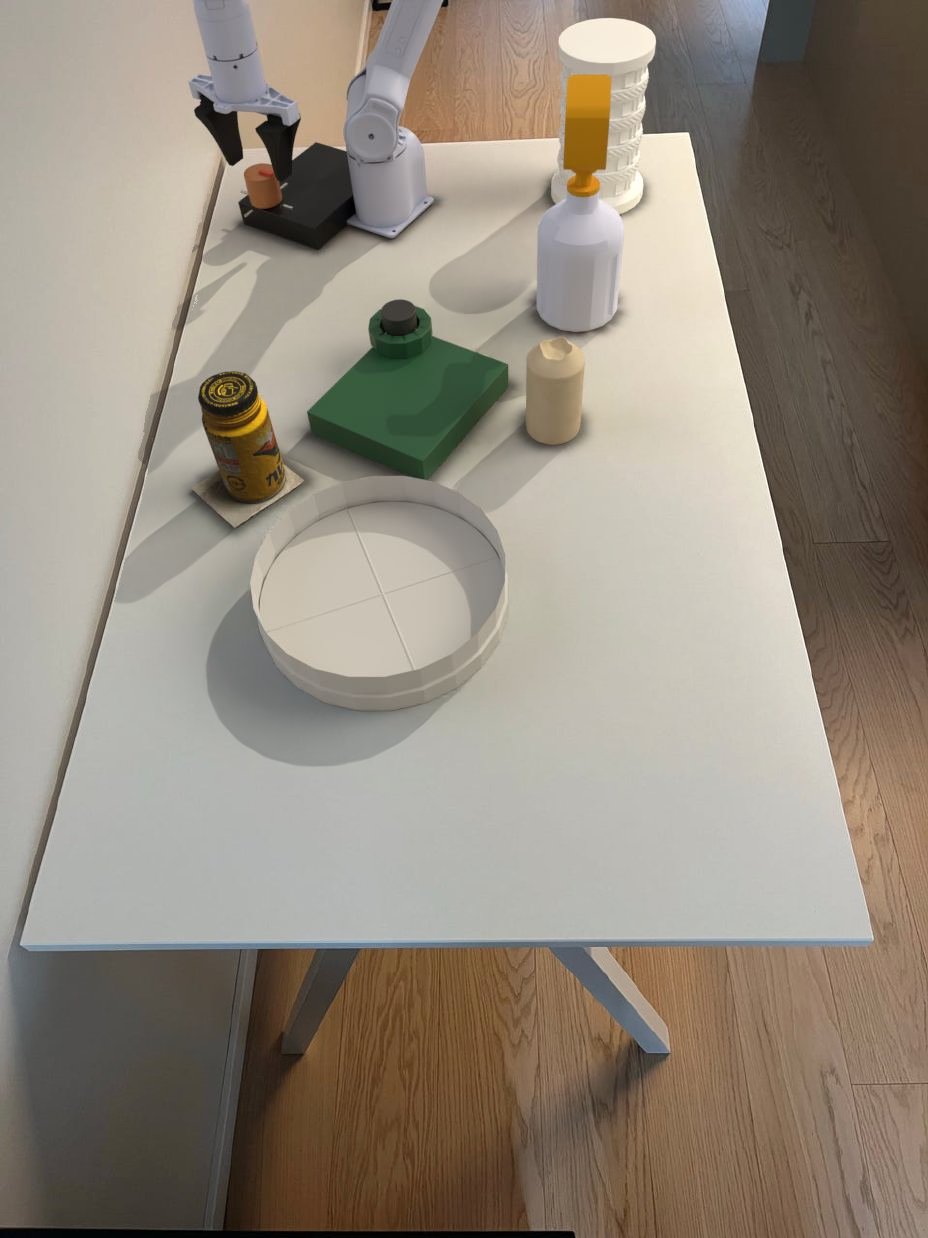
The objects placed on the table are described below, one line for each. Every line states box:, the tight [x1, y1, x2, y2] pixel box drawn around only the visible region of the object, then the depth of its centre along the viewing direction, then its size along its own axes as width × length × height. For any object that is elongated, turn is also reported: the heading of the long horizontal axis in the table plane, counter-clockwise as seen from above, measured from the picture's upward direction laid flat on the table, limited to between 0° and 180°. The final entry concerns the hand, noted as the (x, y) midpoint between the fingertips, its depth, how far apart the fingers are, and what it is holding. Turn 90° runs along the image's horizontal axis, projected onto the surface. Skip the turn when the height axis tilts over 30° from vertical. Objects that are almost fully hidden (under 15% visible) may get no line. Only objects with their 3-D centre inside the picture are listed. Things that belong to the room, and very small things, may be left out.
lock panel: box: [237, 141, 356, 251], centre depth 121 cm, size 18×13×3 cm
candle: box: [525, 336, 586, 446], centre depth 92 cm, size 6×6×10 cm
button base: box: [306, 305, 510, 480], centre depth 97 cm, size 17×15×5 cm
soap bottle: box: [536, 75, 625, 333], centre depth 97 cm, size 9×9×25 cm
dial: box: [243, 162, 282, 209], centre depth 116 cm, size 4×4×4 cm
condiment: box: [191, 370, 305, 529], centre depth 89 cm, size 7×8×12 cm
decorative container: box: [550, 17, 657, 215], centre depth 113 cm, size 12×12×18 cm
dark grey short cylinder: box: [380, 298, 417, 336], centre depth 99 cm, size 4×4×2 cm
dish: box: [249, 475, 509, 712], centre depth 82 cm, size 22×22×5 cm
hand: (260, 169), depth 115 cm, fingers open, 7 cm apart
